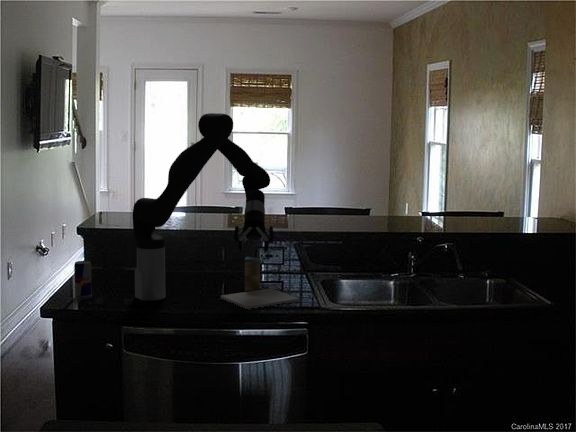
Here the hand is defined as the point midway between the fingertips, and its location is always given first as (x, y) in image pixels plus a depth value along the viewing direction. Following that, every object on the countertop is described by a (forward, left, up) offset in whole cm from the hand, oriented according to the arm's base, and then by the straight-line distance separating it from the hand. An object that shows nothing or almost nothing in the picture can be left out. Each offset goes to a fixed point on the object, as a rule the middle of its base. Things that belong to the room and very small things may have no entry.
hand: (253, 251), depth 288 cm
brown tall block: (-4, -6, -12) cm, 14 cm away
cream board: (-10, -21, -12) cm, 26 cm away
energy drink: (-58, +13, -12) cm, 61 cm away
